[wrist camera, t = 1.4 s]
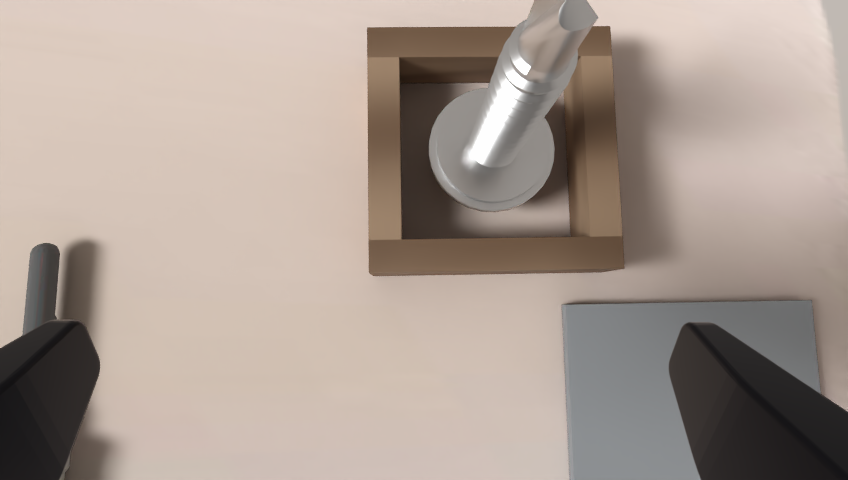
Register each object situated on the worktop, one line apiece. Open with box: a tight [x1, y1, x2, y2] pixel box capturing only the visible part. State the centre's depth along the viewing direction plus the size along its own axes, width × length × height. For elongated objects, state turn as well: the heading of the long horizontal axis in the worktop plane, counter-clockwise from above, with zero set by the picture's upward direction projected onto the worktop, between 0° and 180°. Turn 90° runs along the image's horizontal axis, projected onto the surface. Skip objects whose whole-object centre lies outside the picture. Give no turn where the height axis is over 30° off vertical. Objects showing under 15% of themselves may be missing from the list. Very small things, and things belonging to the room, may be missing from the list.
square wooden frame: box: [367, 26, 624, 276], centre depth 22 cm, size 9×9×2 cm
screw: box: [429, 0, 598, 212], centre depth 17 cm, size 13×5×5 cm
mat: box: [562, 300, 821, 480], centre depth 22 cm, size 10×10×1 cm
